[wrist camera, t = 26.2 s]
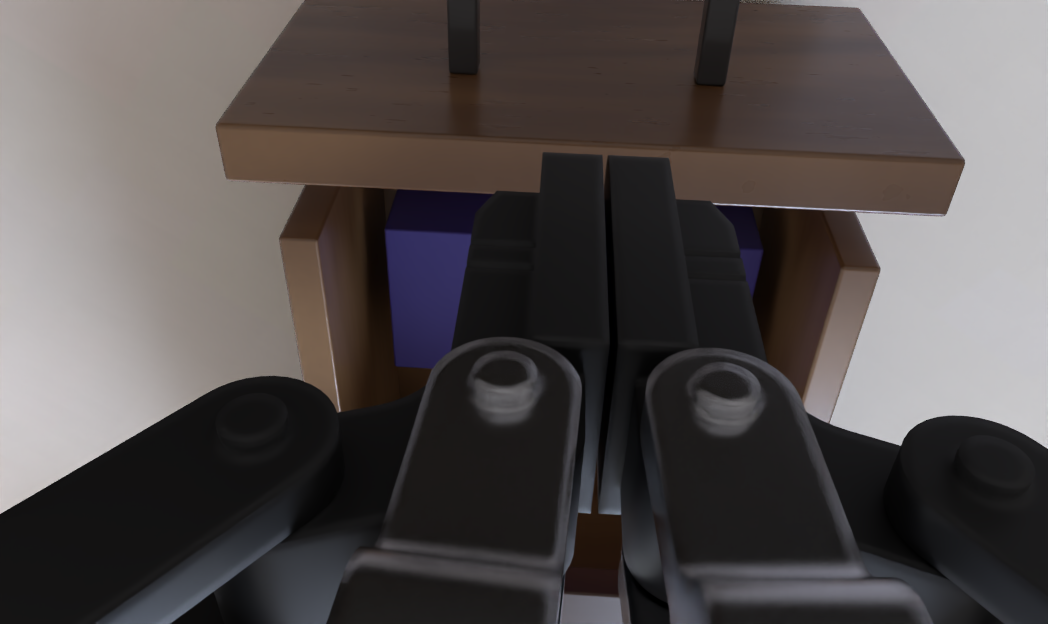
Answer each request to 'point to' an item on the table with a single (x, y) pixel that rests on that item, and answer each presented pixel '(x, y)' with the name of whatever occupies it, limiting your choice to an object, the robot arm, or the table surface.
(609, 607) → the cabinet
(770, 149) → the drawer
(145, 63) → the table surface
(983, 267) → the table surface
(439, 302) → the blue-violet rectangular block
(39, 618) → the robot arm
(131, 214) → the table surface
